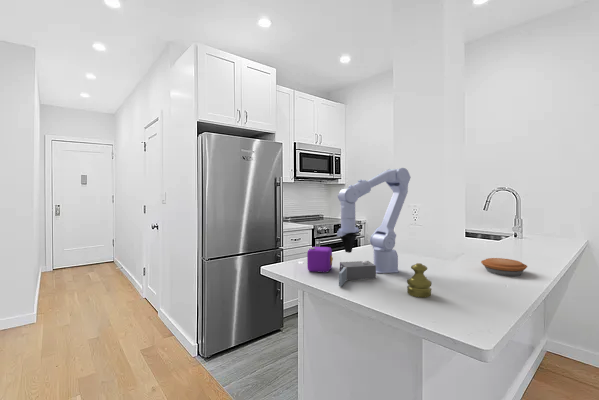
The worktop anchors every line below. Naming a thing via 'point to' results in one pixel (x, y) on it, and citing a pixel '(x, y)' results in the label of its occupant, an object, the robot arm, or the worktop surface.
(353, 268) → the block
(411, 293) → the olive chess piece
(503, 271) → the pie
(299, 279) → the worktop surface
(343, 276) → the door
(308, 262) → the toy camera
